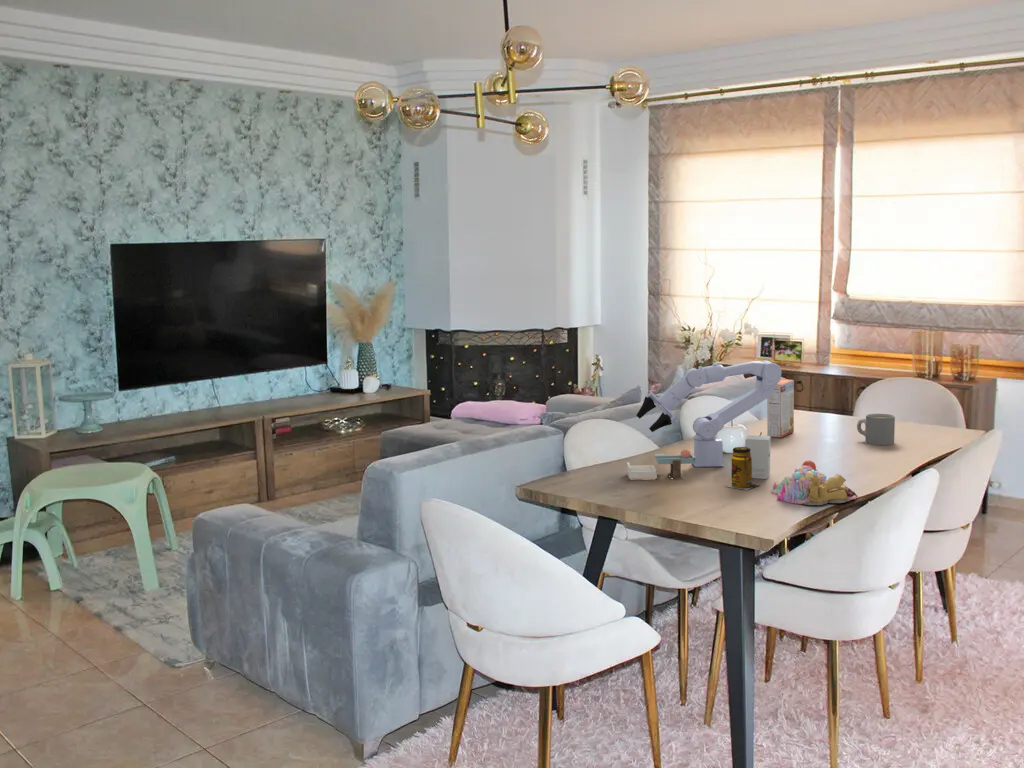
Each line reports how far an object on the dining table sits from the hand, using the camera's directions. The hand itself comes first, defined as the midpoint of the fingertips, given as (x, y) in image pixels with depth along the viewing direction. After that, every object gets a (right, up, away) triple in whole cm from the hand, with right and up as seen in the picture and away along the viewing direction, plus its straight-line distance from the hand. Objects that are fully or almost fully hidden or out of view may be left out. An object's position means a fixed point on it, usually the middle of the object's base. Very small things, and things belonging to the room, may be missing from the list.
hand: (644, 423), depth 333 cm
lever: (+8, -11, -11) cm, 18 cm away
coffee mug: (+90, -8, +34) cm, 97 cm away
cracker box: (+60, -7, +52) cm, 79 cm away
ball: (+11, -9, -15) cm, 21 cm away
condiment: (+27, -18, -28) cm, 43 cm away
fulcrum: (+8, -17, -13) cm, 23 cm away
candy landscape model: (+43, -20, -42) cm, 63 cm away
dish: (-3, -17, -13) cm, 21 cm away
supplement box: (+34, -16, -15) cm, 41 cm away
